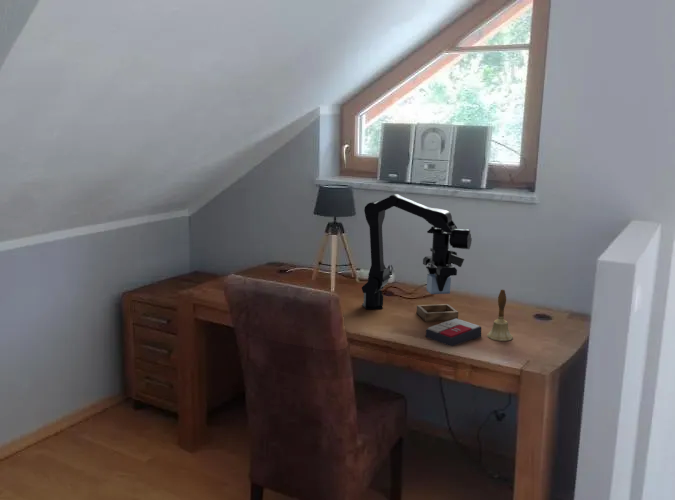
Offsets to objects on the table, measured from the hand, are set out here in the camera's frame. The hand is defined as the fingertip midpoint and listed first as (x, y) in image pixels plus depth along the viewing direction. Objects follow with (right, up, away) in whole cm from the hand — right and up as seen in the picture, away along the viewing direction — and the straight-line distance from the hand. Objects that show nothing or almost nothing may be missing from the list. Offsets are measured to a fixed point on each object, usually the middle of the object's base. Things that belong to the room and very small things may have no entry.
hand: (438, 289), depth 236 cm
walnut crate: (0, -10, +2) cm, 10 cm away
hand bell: (+18, -15, -18) cm, 29 cm away
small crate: (0, -1, 0) cm, 1 cm away
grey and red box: (+2, -15, -19) cm, 24 cm away
